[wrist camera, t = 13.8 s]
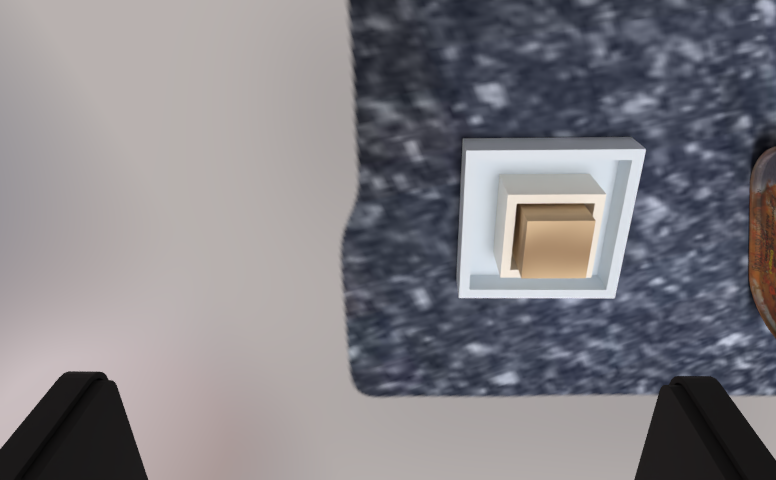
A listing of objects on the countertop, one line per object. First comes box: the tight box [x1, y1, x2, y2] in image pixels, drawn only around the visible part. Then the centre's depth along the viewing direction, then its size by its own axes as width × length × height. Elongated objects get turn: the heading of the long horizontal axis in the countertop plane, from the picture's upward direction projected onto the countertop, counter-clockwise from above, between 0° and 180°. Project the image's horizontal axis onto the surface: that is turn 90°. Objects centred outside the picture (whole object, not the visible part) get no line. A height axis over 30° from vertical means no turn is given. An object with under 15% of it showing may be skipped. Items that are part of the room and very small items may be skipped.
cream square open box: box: [493, 174, 607, 278], centre depth 36 cm, size 6×6×4 cm
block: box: [512, 203, 596, 278], centre depth 35 cm, size 4×4×4 cm
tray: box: [456, 137, 646, 298], centre depth 37 cm, size 11×11×2 cm
